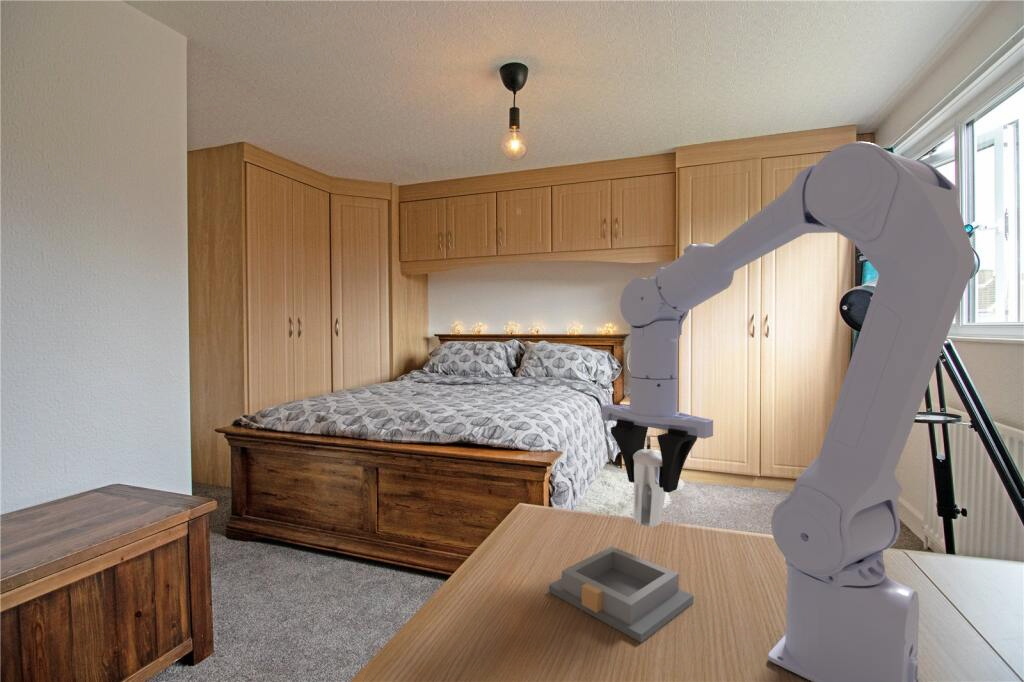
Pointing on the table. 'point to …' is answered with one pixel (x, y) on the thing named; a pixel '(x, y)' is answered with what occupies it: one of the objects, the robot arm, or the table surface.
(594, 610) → the box
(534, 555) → the table surface
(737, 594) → the table surface
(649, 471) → the milkshake
